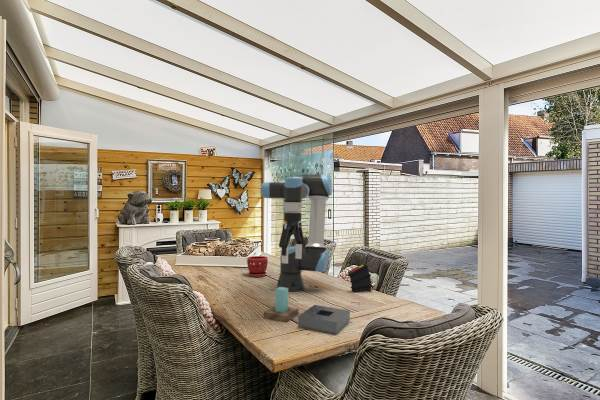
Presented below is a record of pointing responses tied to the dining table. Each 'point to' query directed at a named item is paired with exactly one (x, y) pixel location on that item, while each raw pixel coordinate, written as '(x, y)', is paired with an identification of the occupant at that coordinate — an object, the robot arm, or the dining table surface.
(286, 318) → the brown flat piece
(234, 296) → the dining table surface
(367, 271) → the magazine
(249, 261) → the plant pot
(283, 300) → the peg
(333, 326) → the port
